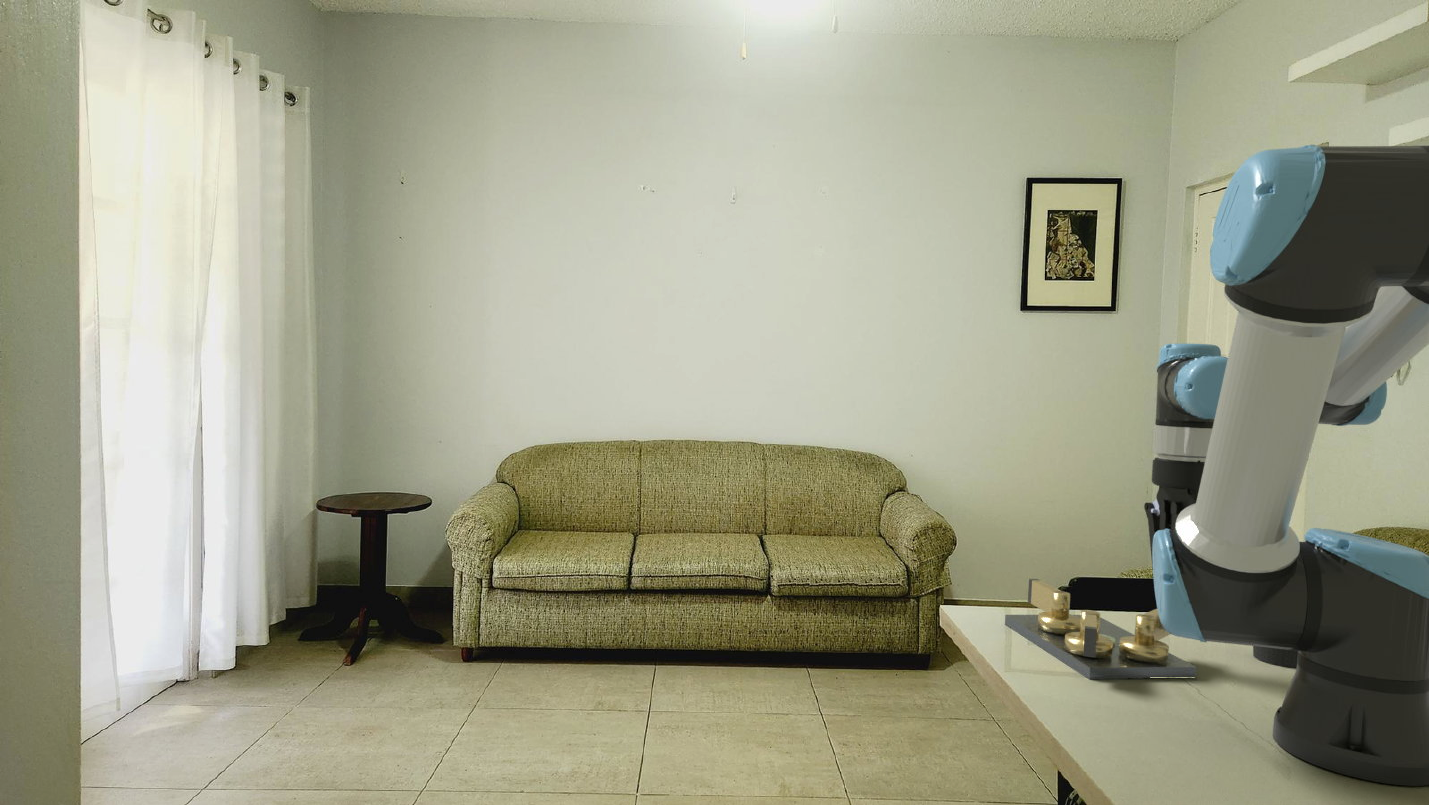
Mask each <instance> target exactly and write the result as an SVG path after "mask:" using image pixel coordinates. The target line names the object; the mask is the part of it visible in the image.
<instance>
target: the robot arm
mask: <svg viewBox="0 0 1429 805" xmlns="http://www.w3.org/2000/svg"><path fill="white" fill-rule="evenodd" d="M1212 237H1213V239H1212V242H1211V244H1210V251H1209V252H1210V253H1209V263H1210V270H1211V273H1212V276H1213V277H1214V278H1215V280H1216V281H1217V282H1219V283H1223V284H1224V289H1223V294H1224V297H1225V299H1226V300H1227V301H1228V303H1229V304H1230V305H1231V306H1232V307H1233V308H1234V309H1235V310H1236V311H1237V315H1236V319H1235V320H1236V321H1235V324H1234V328H1233V332H1232V333H1233V334H1232V338H1231V342H1230V348H1229V352H1228V356H1227V357H1226V356H1224V355H1223V356H1222V350H1221V348H1220V347H1219V346H1218V345H1216V344H1209V343H1185V342H1184V343H1166V344H1164V345H1162V347H1161V348H1160V350H1159V354H1158V355H1159V356H1158V358H1159V359H1158V364H1157V366H1156V372H1157V377H1156V378H1157V381H1156V382H1157V384H1156V400H1155V404H1156V405H1155V406H1156V407H1155V421H1154V422H1155V423H1154V428H1153V429H1154V430H1153V431H1154V432H1153V443H1152V444H1153V447H1152V453H1154V454H1156V455H1157V457H1155V458H1154V459H1153V460H1152V467H1151V468H1152V469H1151V471H1152V472H1151V483H1152V484H1153V485H1155V486H1157V487H1158V490H1157V492H1156V497H1155V498H1156V499H1155V500H1154V501H1153V502H1145V503H1144V505H1143V508H1144V511H1145V515H1146V517H1147V523H1148V534H1149V535H1148V536H1149V544H1150V555H1151V567H1152V568H1151V569H1152V575H1153V576H1152V578H1153V585H1154V586H1153V588H1154V596H1155V601H1156V609H1157V610H1158V614H1159V618H1160V621H1161V624H1162V629H1163V630H1165V631H1167V632H1169V633H1170V635H1172V636H1174V637H1178V638H1184V639H1190V640H1195V641H1200V642H1201V643H1202V642H1203V643H1207V642H1212V643H1213V642H1214V643H1219V644H1220V643H1222V644H1231V645H1242V646H1250V647H1253V646H1259V647H1269V648H1277V649H1286V650H1295V651H1298V658H1297V668H1295V673H1294V674H1293V677H1292V679H1291V681H1290V684H1289V686H1288V689H1287V691H1286V694H1285V696H1284V699H1283V702H1282V705H1281V706H1280V707H1278V708H1277V709H1276V712H1275V713H1274V717H1273V726H1272V738H1273V740H1274V741H1275V743H1276V744H1277V745H1278V746H1279V747H1280V748H1282V749H1283V750H1285V751H1286V752H1288V753H1289V754H1291V755H1293V756H1295V757H1296V758H1299V759H1300V760H1303V761H1305V762H1307V763H1308V764H1312V765H1314V766H1317V767H1319V768H1322V769H1325V770H1328V771H1331V772H1334V773H1338V774H1341V775H1345V776H1349V777H1353V778H1355V779H1361V780H1365V781H1371V782H1376V783H1380V784H1381V783H1382V784H1388V785H1389V784H1390V785H1396V786H1410V787H1411V786H1413V787H1414V786H1415V787H1417V786H1422V787H1423V786H1429V555H1428V554H1426V553H1425V552H1422V551H1420V550H1418V549H1414V548H1411V547H1409V546H1406V545H1402V544H1398V543H1394V542H1391V541H1387V540H1384V539H1379V538H1374V537H1370V536H1366V535H1362V534H1357V533H1352V532H1347V531H1341V530H1335V529H1331V528H1330V529H1329V528H1321V527H1320V528H1319V527H1312V528H1309V529H1308V530H1307V532H1306V534H1305V535H1304V541H1300V539H1299V537H1298V535H1297V534H1296V532H1295V531H1294V530H1293V528H1292V526H1290V523H1291V519H1292V516H1293V512H1294V510H1295V506H1296V503H1297V499H1298V495H1299V492H1300V487H1301V484H1302V480H1303V479H1304V474H1305V470H1306V467H1307V464H1308V460H1309V457H1310V454H1311V450H1312V447H1313V444H1314V439H1315V435H1316V433H1317V429H1318V425H1331V426H1336V427H1345V426H1349V425H1351V426H1353V425H1354V426H1356V425H1357V426H1364V425H1365V426H1366V425H1370V424H1373V423H1375V422H1376V421H1377V420H1378V419H1379V418H1380V416H1381V415H1382V410H1384V408H1385V405H1386V402H1387V396H1388V387H1387V385H1388V384H1387V381H1388V380H1389V379H1390V378H1392V376H1394V375H1395V374H1396V373H1397V372H1398V371H1400V370H1401V368H1404V366H1405V365H1406V364H1408V363H1409V362H1410V361H1411V360H1412V359H1414V358H1415V357H1416V356H1417V355H1418V354H1419V353H1420V352H1421V351H1422V350H1424V349H1425V348H1426V347H1427V346H1428V345H1429V145H1383V146H1381V145H1379V146H1377V145H1374V146H1373V145H1371V146H1369V145H1366V146H1365V145H1364V146H1361V145H1360V146H1358V145H1357V146H1356V145H1354V146H1353V145H1352V146H1351V145H1348V146H1347V145H1345V146H1343V145H1341V146H1335V145H1334V146H1333V145H1331V146H1325V145H1323V146H1318V145H1316V144H1309V145H1308V144H1305V145H1303V146H1302V145H1301V146H1299V147H1290V148H1288V147H1287V148H1275V149H1274V148H1272V149H1266V150H1262V151H1259V152H1256V153H1254V154H1252V155H1251V156H1250V157H1248V158H1247V159H1245V160H1244V161H1243V162H1242V163H1241V165H1240V166H1239V167H1238V169H1236V171H1235V172H1234V174H1233V175H1232V177H1231V179H1230V180H1229V182H1228V184H1227V187H1226V189H1225V191H1224V193H1223V195H1222V198H1221V201H1220V204H1219V206H1218V209H1217V213H1216V216H1215V221H1214V225H1213V229H1212Z"/></svg>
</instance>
